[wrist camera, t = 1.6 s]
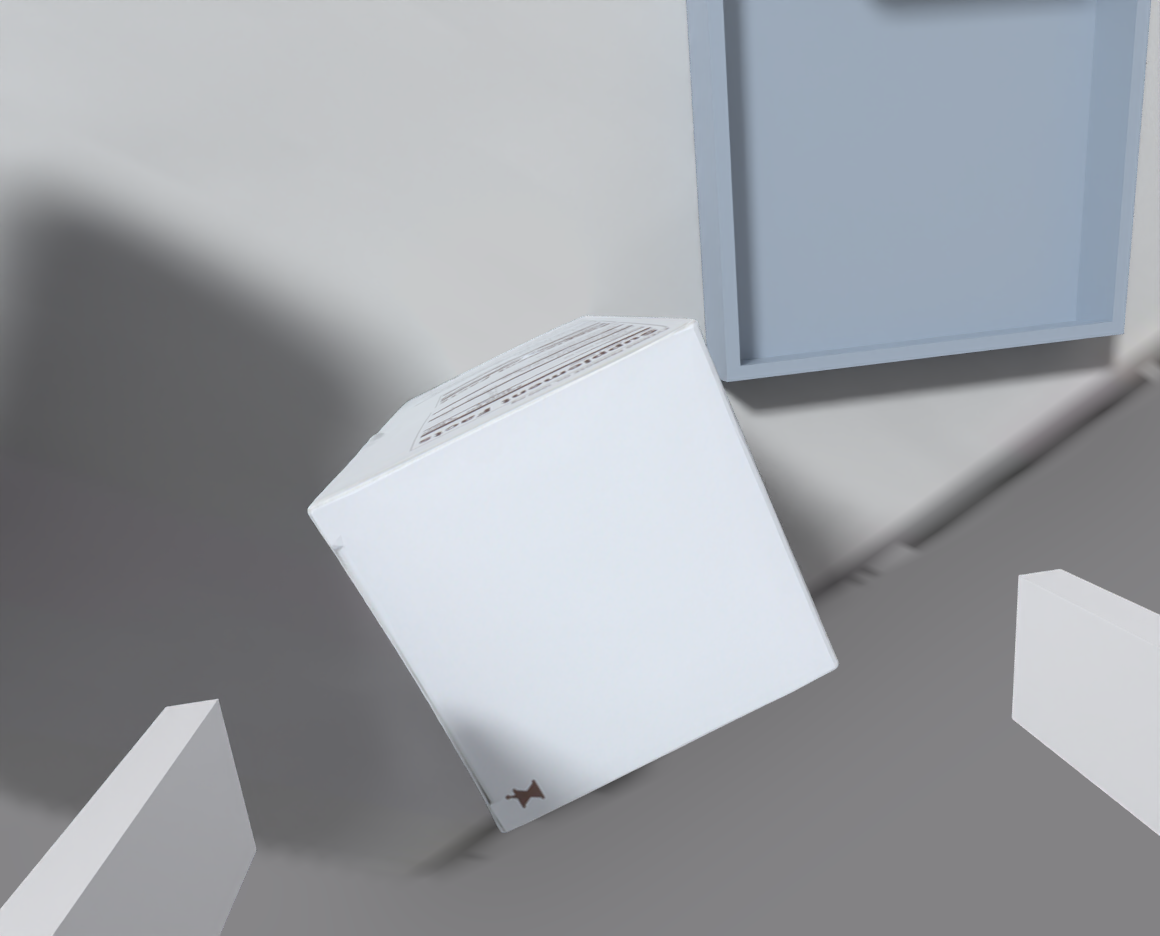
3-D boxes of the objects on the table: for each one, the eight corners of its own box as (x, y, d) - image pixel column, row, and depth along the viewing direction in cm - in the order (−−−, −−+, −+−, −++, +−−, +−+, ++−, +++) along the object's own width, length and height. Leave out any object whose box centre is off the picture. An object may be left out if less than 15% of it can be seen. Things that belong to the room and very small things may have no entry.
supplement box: (674, 495, 33) (857, 681, 17) (497, 582, 33) (507, 857, 16) (588, 306, 30) (704, 306, 14) (397, 399, 30) (291, 509, 14)
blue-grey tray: (708, 376, 32) (727, 381, 29) (667, -308, 26) (687, -375, 23) (1075, 331, 33) (1123, 333, 31) (1118, -317, 27) (1182, -380, 25)
